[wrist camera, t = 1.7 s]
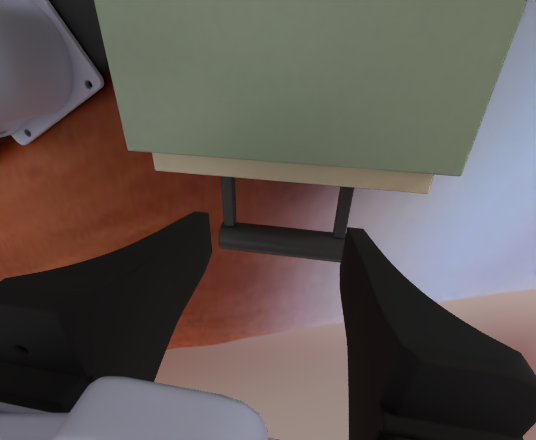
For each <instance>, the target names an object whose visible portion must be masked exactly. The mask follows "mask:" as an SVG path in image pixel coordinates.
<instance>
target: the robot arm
mask: <svg viewBox="0 0 536 440" xmlns="http://www.w3.org/2000/svg"><path fill="white" fill-rule="evenodd" d="M89 81H90V82H91V84H92V88H91V87H90V85H89ZM103 86H104V79H103V77H102V76H101V74H100V73H99V71H98V70H97V69H96V67H95V66H94V64H93V63H92V61H91V60H90V59H89V57H88V56H87V54H86V53H85V51H84V50H83V49H82V47H81V46H80V44H79V43H78V42H77V40H76V39H75V37H74V36H73V34H72V33H71V32H70V30H69V29H68V27H67V26H66V24H65V23H64V22H63V20H62V19H61V17H60V16H59V14H58V13H57V12H56V10H55V9H54V7H53V6H52V4H51V3H50V2H49V0H0V138H1V137H4V136H8V135H11V136H12V137H13V138H14V139H15V140H16V141H17V142H18V143H19V144H21V145H27V144H29V143H31V142H32V141H33V140H35V139H36V138H37V137H38V136H40V135H41V134H42V133H44V132H45V131H46V130H48V129H49V128H50V127H51V126H53V125H54V124H55V123H57V122H58V121H59V120H61V119H62V118H63V117H65V116H66V115H67V114H68V113H70V112H71V111H72V110H74V109H75V108H76V107H78V106H79V105H80V104H81V103H83V102H84V101H85V100H87V99H88V98H89V97H91V96H92V95H93V94H94V93H96V92H97V91H98V90H100V89H101V88H102V87H103ZM29 131H30V132H29ZM30 133H31V134H30ZM211 254H212V244H211V234H210V223H209V213H204V212H193V213H191V214H189V215H187V216H185V217H183V218H181V219H179V220H178V221H176V222H174V223H172V224H170V225H168V226H167V227H165V228H163V229H161V230H159V231H158V232H156V233H153V234H151V235H149V236H147V237H145V238H143V239H141V240H139V241H137V242H135V243H133V244H131V245H128V246H126V247H124V248H121V249H119V250H116V251H113V252H111V253H108V254H105V255H102V256H99V257H96V258H93V259H90V260H86V261H83V262H80V263H76V264H72V265H69V266H65V267H61V268H56V269H52V270H48V271H43V272H38V273H32V274H27V275H21V276H16V277H10V278H5V279H3V280H2V281H0V440H278V439H273V438H268V431H267V428H266V426H265V424H264V422H263V419H262V417H261V416H260V415H259V413H257V412H256V411H255V410H254V409H252V408H251V407H249V406H248V405H247V404H245V403H244V402H242V401H239V400H236V399H233V398H230V397H227V396H224V395H220V394H215V393H209V392H204V391H199V390H193V389H188V388H182V387H177V386H172V385H166V384H161V383H155V382H154V380H155V378H156V375H157V372H158V369H159V367H160V364H161V361H162V359H163V356H164V354H165V351H166V349H167V346H168V344H169V341H170V339H171V336H172V334H173V332H174V329H175V327H176V324H177V322H178V320H179V318H180V316H181V314H182V312H183V310H184V308H185V307H186V305H187V303H188V301H189V300H190V298H191V296H192V294H193V292H194V291H195V289H196V287H197V285H198V283H199V281H200V280H201V278H202V276H203V274H204V272H205V270H206V267H207V265H208V262H209V260H210V257H211ZM340 293H341V301H342V308H343V315H344V323H345V330H346V337H347V347H348V382H349V383H348V386H349V440H523V438H522V437H523V435H524V434H525V433H526V432H527V431H528V430H529V429H530V428H531V427H532V426H533V425H534V424H535V423H536V375H535V374H534V372H533V370H532V369H531V367H530V366H529V364H528V363H527V361H526V360H525V359H524V357H523V356H522V354H521V353H520V352H518V351H516V350H514V349H512V348H510V347H508V346H507V345H505V344H503V343H501V342H499V341H497V340H495V339H493V338H491V337H489V336H488V335H486V334H484V333H482V332H481V331H479V330H477V329H476V328H474V327H472V326H471V325H469V324H467V323H465V322H464V321H462V320H461V319H459V318H458V317H456V316H455V315H453V314H452V313H450V312H448V311H447V310H446V309H444V308H443V307H442V306H440V305H439V304H437V303H436V302H435V301H433V300H432V299H431V298H429V297H428V296H427V295H425V294H424V293H423V292H422V291H420V290H419V289H418V288H417V287H416V286H415V285H413V284H412V283H411V282H410V281H409V280H408V279H407V278H406V277H404V276H403V275H402V274H401V273H400V272H399V271H398V270H397V269H396V268H395V267H394V265H393V264H392V263H391V262H390V261H389V260H388V259H387V258H386V257H385V256H384V254H383V253H382V252H381V251H380V250H379V248H378V247H377V246H376V245H375V243H374V242H373V241H372V240H371V238H370V237H369V236H368V234H367V233H366V232H365V231H364V229H360V228H350V227H347V232H346V237H345V243H344V248H343V253H342V259H341V264H340Z"/></svg>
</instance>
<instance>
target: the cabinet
mask: <svg viewBox="0 0 536 440" xmlns="http://www.w3.org/2000/svg"><path fill="white" fill-rule="evenodd" d="M526 2H527V0H94V3H95V7H96V12H97V16H98V21H99V25H100V29H101V34H102V38H103V43H104V47H105V52H106V56H107V61H108V65H109V69H110V74H111V78H112V83H113V87H114V92H115V96H116V100H117V105H118V109H119V114H120V118H121V123H122V127H123V132H124V136H125V140H126V145H127V149H128V150H129V151H139V152H152V153H165V154H178V155H191V156H204V157H217V158H230V159H242V160H255V161H268V162H281V163H294V164H307V165H320V166H333V167H346V168H359V169H372V170H385V171H398V172H411V173H424V174H437V175H450V176H461V174H462V171H463V169H464V166H465V164H466V161H467V158H468V156H469V153H470V150H471V148H472V145H473V142H474V140H475V137H476V134H477V132H478V129H479V127H480V124H481V121H482V119H483V116H484V113H485V111H486V108H487V105H488V103H489V100H490V97H491V95H492V92H493V90H494V87H495V84H496V82H497V79H498V76H499V74H500V71H501V68H502V66H503V63H504V61H505V58H506V55H507V53H508V50H509V47H510V45H511V42H512V39H513V37H514V34H515V31H516V29H517V26H518V24H519V21H520V18H521V16H522V13H523V10H524V8H525V5H526Z"/></svg>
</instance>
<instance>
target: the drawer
mask: <svg viewBox="0 0 536 440" xmlns="http://www.w3.org/2000/svg"><path fill="white" fill-rule="evenodd" d="M152 155H153V161H154V166H155V170H156V171H167V172H179V173H190V174H202V175H214V176H221V186H222V201H223V217H224V222H223V223H222V225H221V227H220V231H219V246H220V248H222V249H230V250H238V251H246V252H255V253H263V254H272V255H280V256H289V257H297V258H306V259H314V260H323V261H331V262H339V263H341V259H342V253H343V248H344V243H345V237H346V228H347V223H348V218H349V212H350V207H351V202H352V196H353V191H354V188H366V189H378V190H389V191H401V192H413V193H424V194H427V193H428V191H429V188H430V185H431V182H432V179H433V176H434V174H424V173H411V172H398V171H385V170H372V169H359V168H346V167H333V166H320V165H307V164H294V163H281V162H268V161H255V160H242V159H230V158H217V157H204V156H191V155H178V154H165V153H152ZM235 177H237V178H249V179H261V180H272V181H284V182H296V183H307V184H319V185H331V186H340V192H339V198H338V204H337V210H336V217H335V223H334V229H333V232H324V231H315V230H305V229H296V228H286V227H277V226H267V225H258V224H248V223H239V222H236V195H235Z"/></svg>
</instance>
